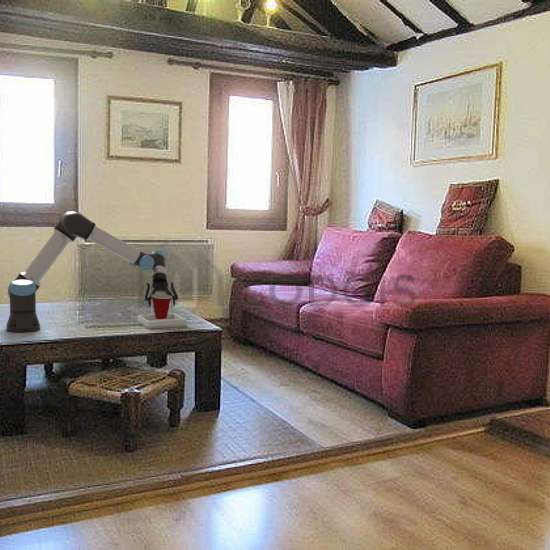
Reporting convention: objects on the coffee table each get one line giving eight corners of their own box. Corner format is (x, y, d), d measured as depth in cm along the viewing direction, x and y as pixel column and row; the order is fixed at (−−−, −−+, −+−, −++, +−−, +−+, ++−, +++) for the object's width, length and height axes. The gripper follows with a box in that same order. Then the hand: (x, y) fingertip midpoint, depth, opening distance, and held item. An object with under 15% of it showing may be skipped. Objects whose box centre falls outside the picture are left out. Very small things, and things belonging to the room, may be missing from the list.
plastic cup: (170, 320, 327) (170, 297, 325) (149, 320, 327) (148, 296, 326) (174, 316, 338) (174, 293, 336) (153, 316, 338) (153, 293, 336)
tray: (147, 329, 319) (147, 322, 319) (137, 321, 337) (137, 315, 337) (186, 326, 328) (186, 319, 328) (174, 319, 346) (174, 313, 346)
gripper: (179, 280, 348) (183, 314, 335) (137, 280, 342) (139, 315, 329) (181, 271, 342) (185, 306, 329) (138, 272, 336) (140, 307, 323)
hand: (162, 310), depth 329 cm, fingers closed on plastic cup, 10 cm apart
